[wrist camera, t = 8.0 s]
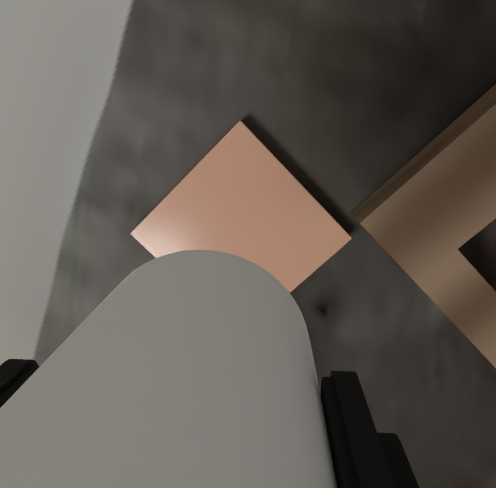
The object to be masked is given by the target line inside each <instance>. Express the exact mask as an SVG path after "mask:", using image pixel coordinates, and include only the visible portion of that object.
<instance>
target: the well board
mask: <svg viewBox="0 0 496 488" xmlns="http://www.w3.org/2000/svg"><path fill="white" fill-rule="evenodd" d="M351 214H352V215H353V216H354V217H355V218H356V219H357V221H358V222H359V223H360V224H361V225H362V226H363V227H364V228H365V229H366V230H367V231H368V232H369V233H370V235H371V236H372V237H373V238H374V239H375V240H376V241H377V242H378V243H379V244H380V245H381V246H382V247H383V248H384V249H385V251H386V252H387V253H388V254H389V255H390V256H391V257H392V258H393V259H394V260H395V261H396V262H397V263H398V264H399V265H400V267H401V268H402V269H403V270H404V271H405V272H406V273H407V274H408V275H409V276H410V277H411V278H412V279H413V280H414V281H415V283H416V284H417V285H418V286H419V287H420V288H421V289H422V290H423V291H424V292H425V293H426V294H427V295H428V296H429V297H430V299H431V300H432V301H433V302H434V303H435V304H436V305H437V306H438V307H439V308H440V309H441V310H442V311H443V312H444V313H445V315H446V316H447V317H448V318H449V319H450V320H451V321H452V322H453V323H454V324H455V325H456V326H457V327H458V328H459V329H460V331H461V332H462V333H463V334H464V335H465V336H466V337H467V338H468V339H469V340H470V341H471V342H472V343H473V344H474V345H475V347H476V348H477V349H478V350H479V351H480V352H481V353H482V354H483V355H484V356H485V357H486V358H487V359H488V360H489V361H490V363H491V364H492V365H493V366H494V367H495V368H496V292H495V290H494V289H493V288H492V287H491V286H490V285H489V284H488V283H487V282H486V280H485V279H484V278H483V277H482V276H481V275H480V274H479V273H478V272H477V270H476V269H475V268H474V267H473V266H472V265H471V264H470V263H469V262H468V260H467V259H466V258H465V257H464V256H463V255H462V254H461V253H460V252H459V250H458V248H459V247H461V246H462V245H463V244H464V243H466V242H467V241H468V240H469V239H471V238H472V237H473V236H474V235H476V234H477V233H478V232H479V231H481V230H482V229H483V228H484V227H485V226H487V225H488V224H489V223H490V222H492V221H493V220H494V219H495V218H496V84H495V85H494V86H493V87H492V88H491V89H489V90H488V91H487V92H486V93H485V94H484V95H483V96H482V97H480V98H479V99H478V100H477V101H476V102H475V103H474V104H473V105H472V106H470V107H469V108H468V109H467V110H466V111H465V112H464V113H463V114H461V115H460V116H459V117H458V118H457V119H456V120H455V121H454V122H452V123H451V124H450V125H449V126H448V127H447V128H446V129H445V130H443V131H442V132H441V133H440V134H439V135H438V136H437V137H436V138H435V139H433V140H432V141H431V142H430V143H429V144H428V145H427V146H426V147H424V148H423V149H422V150H421V151H420V152H419V153H418V154H417V155H415V156H414V157H413V158H412V159H411V160H410V161H409V162H408V163H406V164H405V165H404V166H403V167H402V168H401V169H400V170H399V171H398V172H396V173H395V174H394V175H393V176H392V177H391V178H390V179H389V180H387V181H386V182H385V183H384V184H383V185H382V186H381V187H380V188H378V189H377V190H376V191H375V192H374V193H373V194H372V195H371V196H369V197H368V198H367V199H366V200H365V201H364V202H363V203H362V204H361V205H359V206H358V207H357V208H356V209H355V210H354V211H353V212H352V213H351Z"/></svg>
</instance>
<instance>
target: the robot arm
mask: <svg viewBox="0 0 496 488" xmlns="http://www.w3.org/2000/svg"><path fill="white" fill-rule="evenodd" d="M39 367H40V366H38V364H37V362H36V361H34V360H24V359H9V360H7V361H5V362H4V363H3V364H2V365H1V366H0V408H1V407H2V406H3V405H4V404H5V403H6V402H7V401H8V400H9V399H10V397H11V396H12V395H13V394H14V393H15V392H16V391H17V390H18V389H19V388H20V387H21V386H22V385H23V384H24V383H25V382H26V381H27V380H28V379H29V377H30V376H31V375H32V374H33V373H34V372H35V371H36V370H37V369H38V368H39ZM321 401H322V406H323V412H324V417H325V423H326V428H327V433H328V439H329V444H330V450H331V455H332V461H333V466H334V472H335V477H336V483H337V488H419V486H418V483H417V481H416V479H415V476H414V474H413V471H412V469H411V466H410V464H409V461H408V459H407V456H406V454H405V452H404V449H403V447H402V444H401V442H400V440H399V438H398V436H397V435H396V434H395V433H377V431H376V428H375V426H374V423H373V420H372V417H371V414H370V411H369V408H368V405H367V402H366V399H365V396H364V393H363V391H362V388H361V385H360V382H359V379H358V376H357V373H356V372H353V371H331V374H330V377H322V382H321Z"/></svg>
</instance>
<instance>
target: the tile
mask: <svg viewBox="0 0 496 488" xmlns="http://www.w3.org/2000/svg"><path fill="white" fill-rule="evenodd" d="M131 235H132V236H133V237H134V238H135V239H137V240H138V241H139V242H140V243H141V244H142V245H143V246H144V247H145V248H146V249H147V250H148V251H149V252H150V253H151V254H152V255H153V256H155V257H156V258H158V257H161V256H164V255H167V254H170V253H174V252H179V251H185V250H214V251H220V252H225V253H229V254H233V255H236V256H239V257H241V258H244V259H246V260H248V261H251V262H253V263H255V264H256V265H258V266H260V267H261V268H263V269H264V270H266V271H267V272H269V273H270V274H271V275H273V276H274V277H275V278H276V279H277V280H278V281H279V282H280V283H281V284H282V285H283V286H284V287H285V288H286V289H287V290H288V292H289V293H290V292H291V291H292V290H294V289H295V288H296V287H297V286H298V285H299V284H300V283H302V282H303V281H304V280H305V279H306V278H307V277H308V276H310V275H311V274H312V273H313V272H314V271H315V270H316V269H318V268H319V267H320V266H321V265H322V264H323V263H324V262H326V261H327V260H328V259H329V258H330V257H331V256H332V255H334V254H335V253H336V252H337V251H338V250H339V249H340V248H342V247H343V246H344V245H345V244H346V243H347V242H348V241H350V240H351V239H352V238H351V236H350V235H349V234H348V233H347V232H346V231H345V230H344V229H343V228H342V226H341V225H340V224H339V223H338V222H337V221H336V220H335V219H334V218H333V217H332V216H331V215H330V214H329V213H328V212H327V211H326V210H325V209H324V207H323V206H322V205H321V204H320V203H319V202H318V201H317V200H316V199H315V198H314V197H313V196H312V195H311V194H310V193H309V192H308V191H307V190H306V189H305V187H304V186H303V185H302V184H301V183H300V182H299V181H298V180H297V179H296V178H295V177H294V176H293V175H292V174H291V173H290V172H289V171H288V170H287V168H286V167H285V166H284V165H283V164H282V163H281V162H280V161H279V160H278V159H277V158H276V157H275V156H274V155H273V154H272V153H271V152H270V151H269V149H268V148H267V147H266V146H265V145H264V144H263V143H262V142H261V141H260V140H259V139H258V138H257V137H256V136H255V135H254V134H253V133H252V132H251V130H250V129H249V128H248V127H247V126H246V125H245V124H244V123H243V122H242V121H239V122H238V123H237V124H236V125H235V126H234V127H233V128H232V129H231V130H230V131H229V132H228V133H227V134H226V135H225V137H224V138H223V139H222V140H221V141H220V142H219V143H218V144H217V145H216V146H215V147H214V148H213V149H212V150H211V151H210V152H209V153H208V154H207V155H206V156H205V157H204V158H203V159H202V160H201V161H200V162H199V163H198V164H197V165H196V166H195V168H194V169H193V170H192V171H191V172H190V173H189V174H188V175H187V176H186V177H185V178H184V179H183V180H182V181H181V182H180V183H179V184H178V185H177V186H176V187H175V188H174V189H173V190H172V191H171V192H170V193H169V194H168V195H167V196H166V197H165V198H164V200H163V201H162V202H161V203H160V204H159V205H158V206H157V207H156V208H155V209H154V210H153V211H152V212H151V213H150V214H149V215H148V216H147V217H146V218H145V219H144V220H143V221H142V222H141V223H140V224H139V225H138V226H137V227H136V228H135V229H134V231H133V232H132V233H131Z"/></svg>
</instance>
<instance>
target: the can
mask: <svg viewBox="0 0 496 488" xmlns="http://www.w3.org/2000/svg"><path fill="white" fill-rule="evenodd" d="M0 488H337V483H336V477H335V472H334V466H333V461H332V455H331V450H330V444H329V439H328V433H327V428H326V423H325V417H324V412H323V406H322V401H321V395H320V390H319V385H318V379H317V374H316V369H315V364H314V358H313V353H312V349H311V344H310V339H309V335H308V331H307V327H306V324H305V321H304V318H303V316H302V313H301V311H300V309H299V307H298V305H297V303H296V302H295V300H294V299H293V297H292V296H291V294H290V293H289V292H288V290H287V289H286V288H285V287H284V286H283V285H282V284H281V283H280V282H279V281H278V280H277V279H276V278H275V277H274V276H273V275H271V274H270V273H269V272H267V271H266V270H264V269H263V268H261V267H260V266H258V265H256V264H255V263H253V262H251V261H248V260H246V259H244V258H241V257H239V256H236V255H233V254H229V253H225V252H220V251H214V250H185V251H179V252H174V253H170V254H167V255H164V256H161V257H158V258H156V259H153V260H151V261H149V262H147V263H145V264H143V265H141V266H140V267H138V268H137V269H135V270H134V271H133V272H132V273H130V274H129V275H128V276H127V277H126V278H125V279H124V280H123V281H122V282H121V283H120V284H119V285H118V286H117V287H116V288H115V289H114V290H113V291H112V292H111V293H110V294H109V295H108V296H107V297H106V298H105V299H104V300H103V301H102V302H101V303H100V304H99V305H98V306H97V307H96V309H95V310H94V311H93V312H92V313H91V314H90V315H89V316H88V317H87V318H86V319H85V320H84V321H83V322H82V323H81V324H80V325H79V326H78V327H77V328H76V329H75V330H74V331H73V332H72V334H71V335H70V336H69V337H68V338H67V339H66V340H65V341H64V342H63V343H62V344H61V345H60V346H59V347H58V348H57V349H56V350H55V351H54V352H53V353H52V354H51V355H50V357H49V358H48V359H47V360H46V361H45V362H44V363H43V364H42V365H41V366H40V367H39V368H38V369H37V370H36V371H35V372H34V373H33V374H32V375H31V376H30V377H29V379H28V380H27V381H26V382H25V383H24V384H23V385H22V386H21V387H20V388H19V389H18V390H17V391H16V392H15V393H14V394H13V395H12V396H11V397H10V399H9V400H8V401H7V402H6V403H5V404H4V405H3V406H2V407H1V408H0Z"/></svg>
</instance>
